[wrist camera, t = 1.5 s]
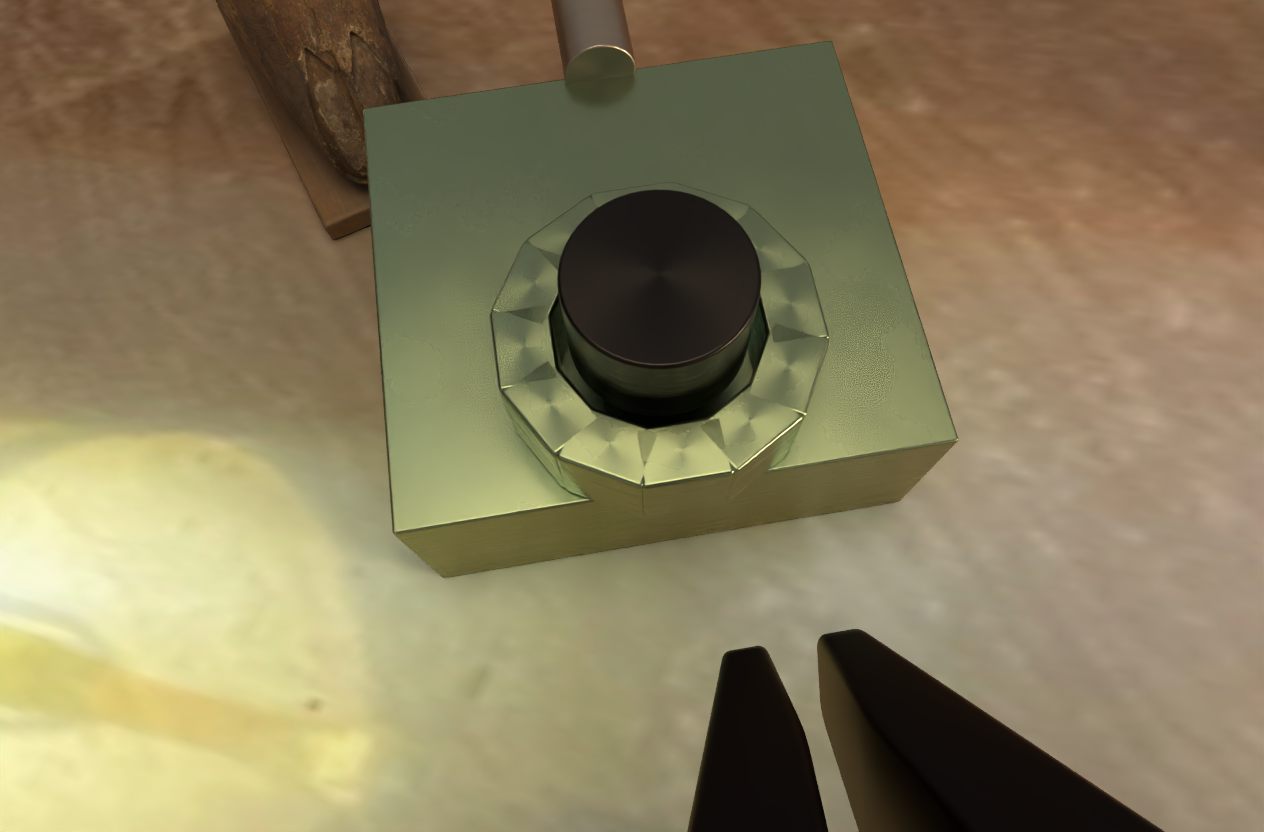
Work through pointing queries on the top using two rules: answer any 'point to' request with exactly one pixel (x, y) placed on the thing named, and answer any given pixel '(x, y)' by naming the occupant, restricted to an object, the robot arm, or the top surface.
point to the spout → (593, 39)
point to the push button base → (536, 337)
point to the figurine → (323, 90)
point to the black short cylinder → (658, 300)
